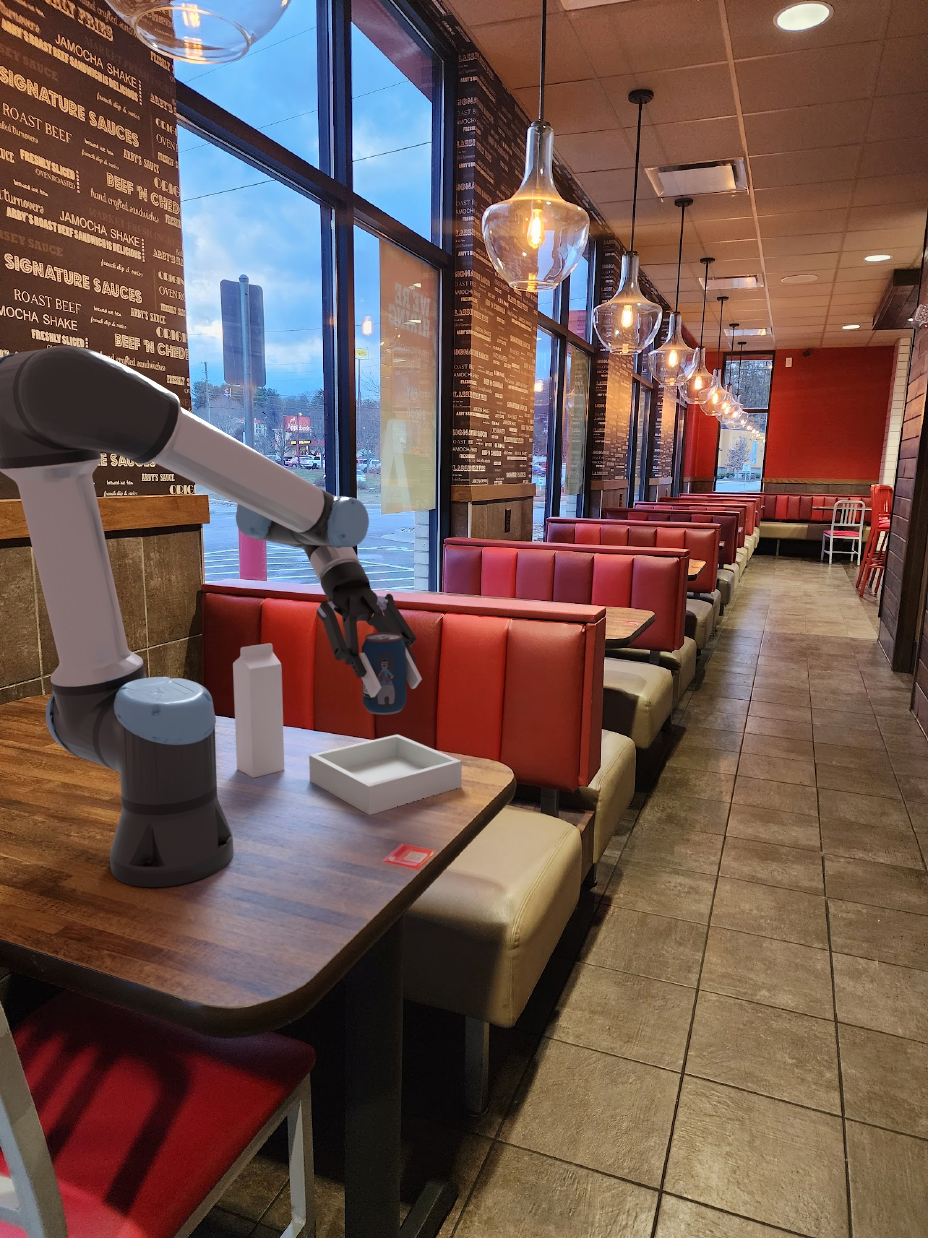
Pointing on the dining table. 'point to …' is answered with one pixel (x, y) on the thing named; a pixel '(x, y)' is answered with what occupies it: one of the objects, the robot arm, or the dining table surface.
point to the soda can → (386, 672)
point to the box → (384, 773)
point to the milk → (258, 711)
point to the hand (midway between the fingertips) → (396, 688)
